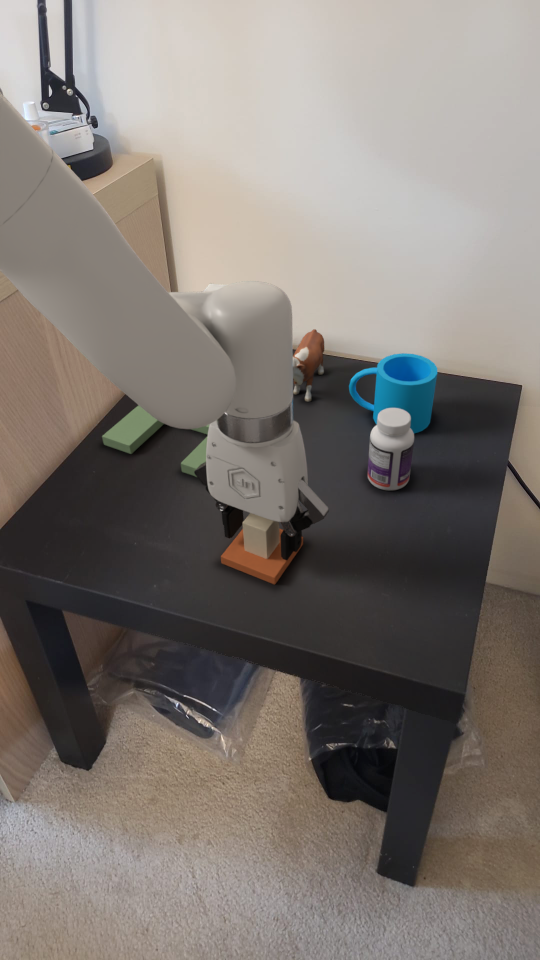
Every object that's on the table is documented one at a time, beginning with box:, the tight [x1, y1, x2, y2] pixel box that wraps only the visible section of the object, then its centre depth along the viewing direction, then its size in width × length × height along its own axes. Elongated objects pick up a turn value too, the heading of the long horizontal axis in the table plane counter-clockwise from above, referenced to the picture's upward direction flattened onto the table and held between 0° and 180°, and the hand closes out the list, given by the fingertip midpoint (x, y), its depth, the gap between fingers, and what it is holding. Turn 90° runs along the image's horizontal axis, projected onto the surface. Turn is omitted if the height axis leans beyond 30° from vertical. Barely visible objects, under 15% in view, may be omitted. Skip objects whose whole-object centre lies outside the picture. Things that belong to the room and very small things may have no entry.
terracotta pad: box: [220, 513, 304, 585], centre depth 77 cm, size 7×7×6 cm
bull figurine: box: [293, 328, 326, 402], centre depth 102 cm, size 4×13×8 cm, turn 158°
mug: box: [348, 352, 438, 435], centre depth 96 cm, size 12×8×8 cm
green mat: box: [101, 404, 209, 478], centre depth 98 cm, size 18×18×2 cm
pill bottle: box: [367, 408, 415, 491], centre depth 85 cm, size 5×5×10 cm
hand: (262, 539), depth 78 cm, fingers open, 6 cm apart
